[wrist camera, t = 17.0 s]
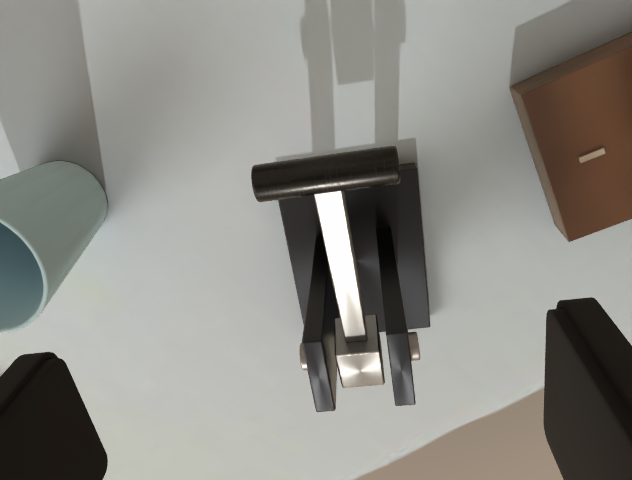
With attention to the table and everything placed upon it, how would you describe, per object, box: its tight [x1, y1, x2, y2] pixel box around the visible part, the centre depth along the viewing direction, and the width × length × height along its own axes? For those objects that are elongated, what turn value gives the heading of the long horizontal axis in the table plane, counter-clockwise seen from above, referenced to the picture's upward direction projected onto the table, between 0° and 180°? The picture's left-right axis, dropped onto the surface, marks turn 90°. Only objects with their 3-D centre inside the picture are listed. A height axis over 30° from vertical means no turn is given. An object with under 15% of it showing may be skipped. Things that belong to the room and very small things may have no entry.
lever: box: [251, 146, 400, 388], centre depth 24 cm, size 13×6×2 cm, turn 10°
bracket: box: [278, 163, 430, 412], centre depth 32 cm, size 12×9×13 cm
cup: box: [0, 161, 107, 333], centre depth 32 cm, size 8×8×10 cm
